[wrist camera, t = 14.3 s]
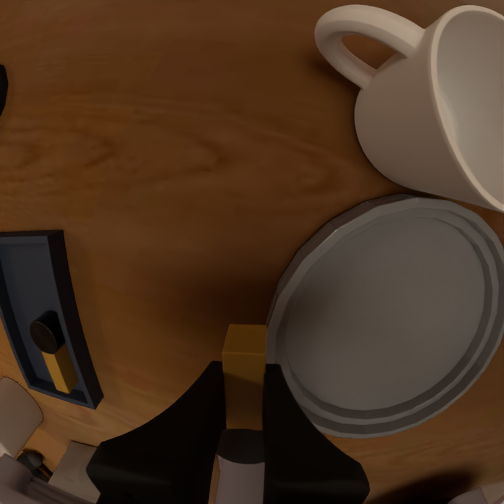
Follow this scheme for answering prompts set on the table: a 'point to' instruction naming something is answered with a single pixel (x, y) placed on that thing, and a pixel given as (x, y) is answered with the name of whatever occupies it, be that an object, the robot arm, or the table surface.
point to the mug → (428, 98)
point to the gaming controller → (33, 465)
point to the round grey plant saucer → (388, 314)
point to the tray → (43, 310)
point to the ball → (435, 501)
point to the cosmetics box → (75, 473)
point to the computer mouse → (3, 87)
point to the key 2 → (243, 394)
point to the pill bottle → (16, 417)
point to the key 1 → (54, 350)
